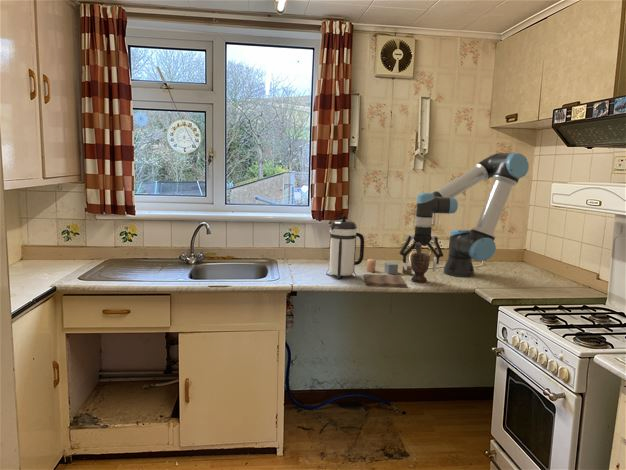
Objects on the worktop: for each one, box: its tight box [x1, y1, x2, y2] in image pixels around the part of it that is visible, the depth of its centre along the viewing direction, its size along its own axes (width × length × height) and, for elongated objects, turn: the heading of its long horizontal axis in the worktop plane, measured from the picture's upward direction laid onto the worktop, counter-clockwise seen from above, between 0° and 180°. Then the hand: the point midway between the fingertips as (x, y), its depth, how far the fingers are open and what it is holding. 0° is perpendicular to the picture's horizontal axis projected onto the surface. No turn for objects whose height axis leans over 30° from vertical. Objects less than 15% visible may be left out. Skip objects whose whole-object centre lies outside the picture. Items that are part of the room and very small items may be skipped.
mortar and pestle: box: [410, 242, 431, 284], centre depth 214 cm, size 12×9×20 cm
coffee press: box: [325, 214, 365, 281], centre depth 220 cm, size 17×16×30 cm
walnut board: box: [363, 273, 408, 288], centre depth 213 cm, size 18×16×2 cm
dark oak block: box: [401, 264, 413, 276], centre depth 231 cm, size 4×4×4 cm
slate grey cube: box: [383, 261, 399, 275], centre depth 232 cm, size 5×5×5 cm
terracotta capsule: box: [366, 258, 377, 273], centre depth 234 cm, size 4×4×6 cm
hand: (419, 270), depth 215 cm, fingers open, 13 cm apart
